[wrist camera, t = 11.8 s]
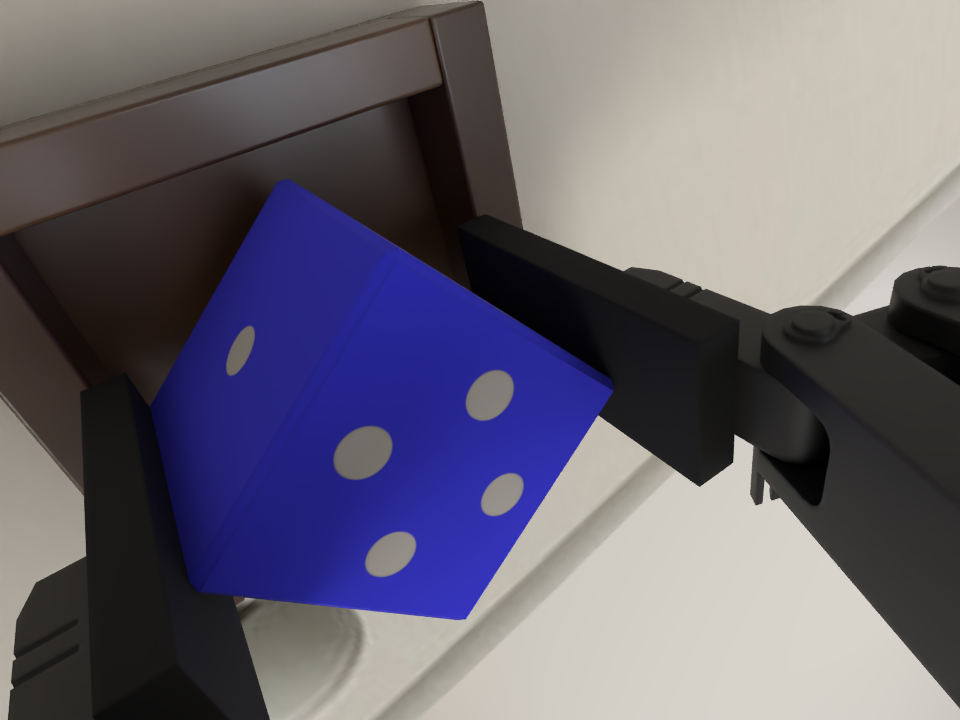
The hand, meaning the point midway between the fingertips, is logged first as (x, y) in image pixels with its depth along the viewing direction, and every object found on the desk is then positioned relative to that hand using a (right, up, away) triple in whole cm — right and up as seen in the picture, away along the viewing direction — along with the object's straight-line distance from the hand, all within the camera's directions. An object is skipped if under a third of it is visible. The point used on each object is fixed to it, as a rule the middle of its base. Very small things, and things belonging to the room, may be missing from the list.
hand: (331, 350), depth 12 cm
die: (0, 0, 0) cm, 1 cm away
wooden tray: (-2, +1, +2) cm, 3 cm away
